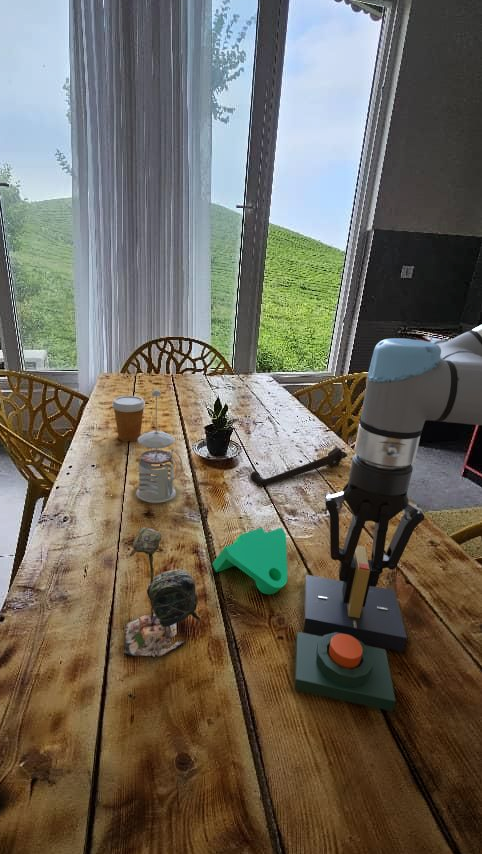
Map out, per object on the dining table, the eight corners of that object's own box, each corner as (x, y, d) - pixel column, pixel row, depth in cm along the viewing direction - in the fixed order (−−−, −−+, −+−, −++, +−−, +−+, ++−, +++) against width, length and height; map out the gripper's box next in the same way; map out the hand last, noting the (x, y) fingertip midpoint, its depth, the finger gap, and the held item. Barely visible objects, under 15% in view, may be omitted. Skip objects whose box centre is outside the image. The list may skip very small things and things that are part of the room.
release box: (382, 660, 62) (388, 639, 60) (392, 713, 55) (399, 690, 53) (295, 643, 64) (298, 621, 63) (293, 691, 57) (297, 668, 55)
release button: (358, 646, 59) (361, 636, 59) (361, 671, 56) (364, 661, 55) (328, 640, 60) (330, 630, 60) (329, 664, 57) (331, 654, 56)
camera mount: (207, 560, 79) (234, 616, 74) (222, 540, 73) (251, 599, 68) (261, 541, 84) (289, 592, 79) (278, 522, 79) (309, 575, 74)
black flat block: (391, 604, 72) (395, 588, 71) (402, 654, 63) (407, 637, 62) (303, 588, 75) (306, 573, 74) (302, 634, 66) (305, 617, 65)
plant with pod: (200, 662, 60) (207, 539, 53) (117, 659, 60) (112, 535, 53) (201, 617, 68) (207, 504, 61) (127, 614, 68) (124, 500, 60)
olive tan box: (345, 589, 71) (354, 543, 67) (356, 591, 70) (365, 545, 67) (348, 616, 65) (358, 568, 62) (359, 618, 65) (370, 570, 62)
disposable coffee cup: (136, 446, 127) (136, 407, 123) (107, 441, 130) (105, 402, 126) (150, 435, 136) (150, 397, 131) (122, 430, 139) (121, 393, 134)
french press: (154, 480, 109) (154, 381, 100) (192, 495, 103) (196, 391, 93) (125, 495, 101) (122, 390, 92) (164, 512, 95) (166, 401, 86)
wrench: (248, 484, 112) (334, 455, 126) (260, 494, 108) (347, 463, 122) (249, 467, 110) (336, 439, 123) (261, 476, 106) (350, 447, 120)
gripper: (326, 462, 57) (303, 606, 66) (451, 478, 54) (409, 626, 63) (325, 441, 64) (304, 574, 72) (435, 454, 61) (399, 591, 70)
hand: (353, 598), depth 68 cm, fingers closed on olive tan box, 2 cm apart
